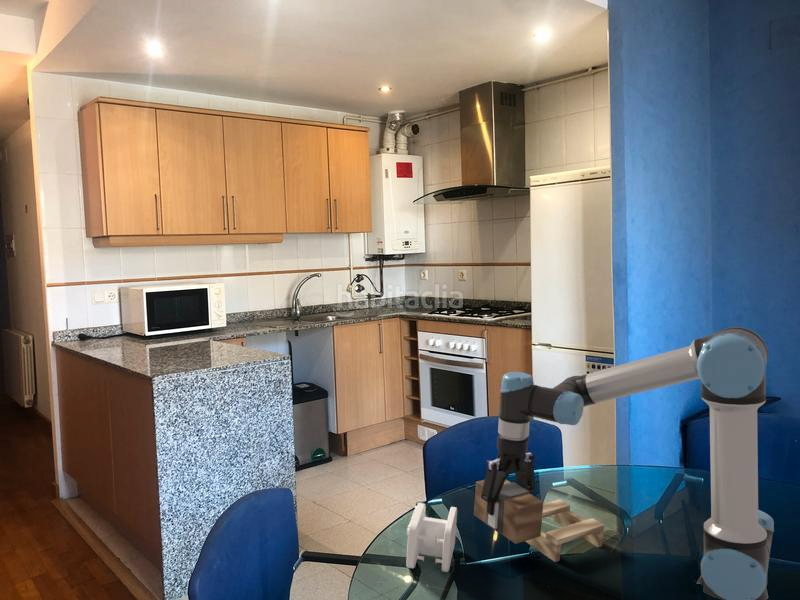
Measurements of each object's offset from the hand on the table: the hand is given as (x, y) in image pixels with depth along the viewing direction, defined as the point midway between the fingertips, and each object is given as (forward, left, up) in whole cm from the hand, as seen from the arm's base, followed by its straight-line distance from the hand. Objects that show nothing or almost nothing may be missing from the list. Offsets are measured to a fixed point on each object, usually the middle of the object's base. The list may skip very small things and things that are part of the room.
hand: (506, 521), depth 161 cm
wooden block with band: (0, 0, -1) cm, 1 cm away
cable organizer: (+6, +18, -9) cm, 21 cm away
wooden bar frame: (-1, -18, -9) cm, 20 cm away
